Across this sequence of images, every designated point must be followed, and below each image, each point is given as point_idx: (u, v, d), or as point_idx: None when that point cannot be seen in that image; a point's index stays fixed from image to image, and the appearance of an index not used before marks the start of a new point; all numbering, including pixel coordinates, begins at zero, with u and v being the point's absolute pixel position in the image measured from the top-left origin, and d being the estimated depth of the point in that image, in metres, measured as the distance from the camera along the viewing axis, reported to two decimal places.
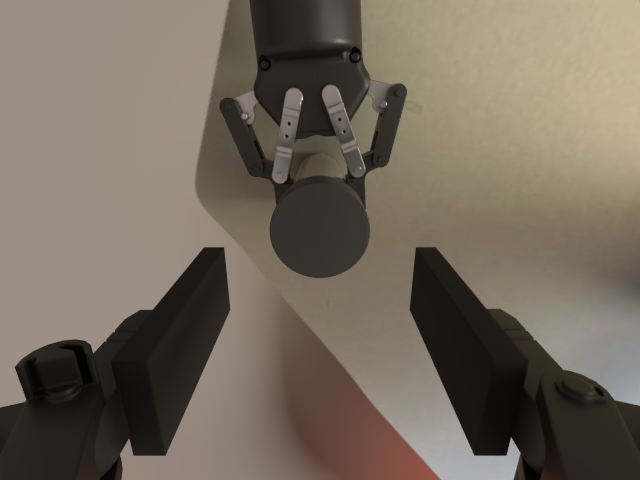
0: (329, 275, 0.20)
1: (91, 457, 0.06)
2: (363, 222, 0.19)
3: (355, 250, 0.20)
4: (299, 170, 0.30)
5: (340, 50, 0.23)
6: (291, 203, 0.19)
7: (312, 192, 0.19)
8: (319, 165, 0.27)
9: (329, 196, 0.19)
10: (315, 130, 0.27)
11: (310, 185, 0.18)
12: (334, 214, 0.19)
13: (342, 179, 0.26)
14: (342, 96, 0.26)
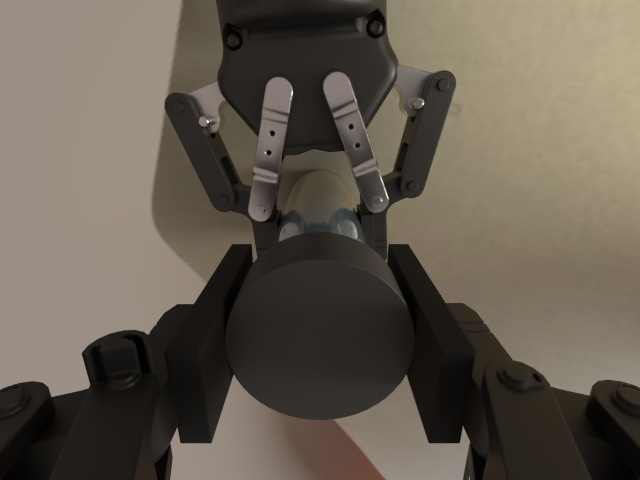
0: (337, 416, 0.11)
1: (148, 445, 0.06)
2: (403, 329, 0.10)
3: (386, 376, 0.10)
4: (290, 198, 0.21)
5: (354, 14, 0.14)
6: (264, 296, 0.10)
7: (305, 276, 0.09)
8: (319, 195, 0.18)
9: (338, 284, 0.09)
10: (313, 143, 0.17)
11: (301, 264, 0.09)
12: (348, 316, 0.10)
13: (355, 220, 0.17)
14: (355, 90, 0.17)
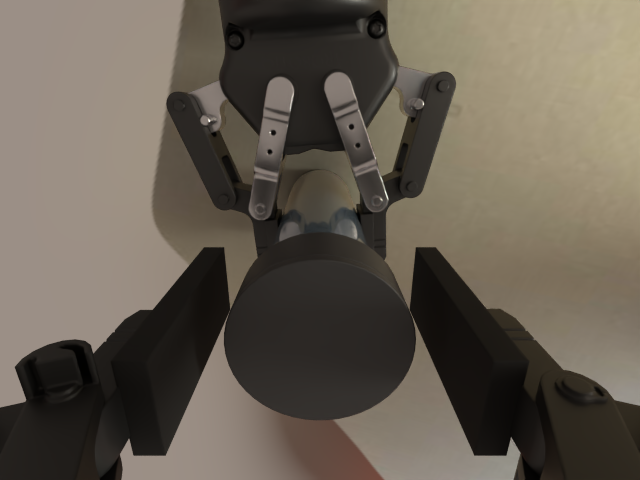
0: (410, 357, 0.10)
1: (91, 457, 0.06)
2: (328, 270, 0.09)
3: (380, 300, 0.10)
4: (290, 197, 0.21)
5: (355, 15, 0.14)
6: (250, 372, 0.10)
7: (239, 335, 0.10)
8: (319, 194, 0.18)
9: (256, 312, 0.10)
10: (313, 142, 0.17)
11: (226, 336, 0.10)
12: (293, 315, 0.10)
13: (354, 219, 0.17)
14: (355, 91, 0.17)
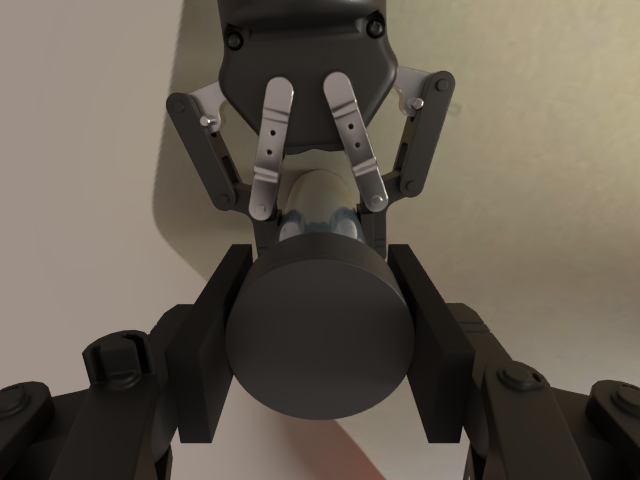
0: (410, 356, 0.10)
1: (148, 445, 0.06)
2: (327, 270, 0.09)
3: (379, 300, 0.10)
4: (290, 197, 0.21)
5: (354, 15, 0.14)
6: (250, 372, 0.10)
7: (239, 336, 0.10)
8: (319, 194, 0.18)
9: (256, 312, 0.10)
10: (313, 142, 0.17)
11: (226, 336, 0.10)
12: (293, 315, 0.10)
13: (354, 219, 0.17)
14: (355, 90, 0.17)
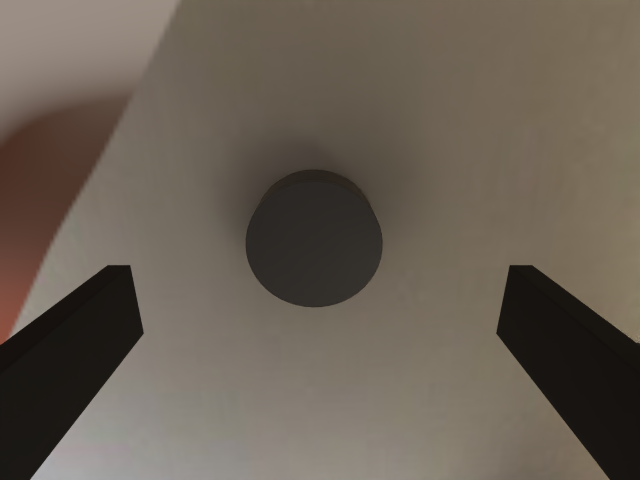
0: (379, 255, 0.14)
1: None
2: (319, 189, 0.13)
3: (356, 212, 0.14)
4: None
5: None
6: (264, 269, 0.14)
7: (256, 240, 0.14)
8: None
9: (268, 222, 0.14)
10: None
11: (247, 240, 0.14)
12: (295, 223, 0.14)
13: None
14: None
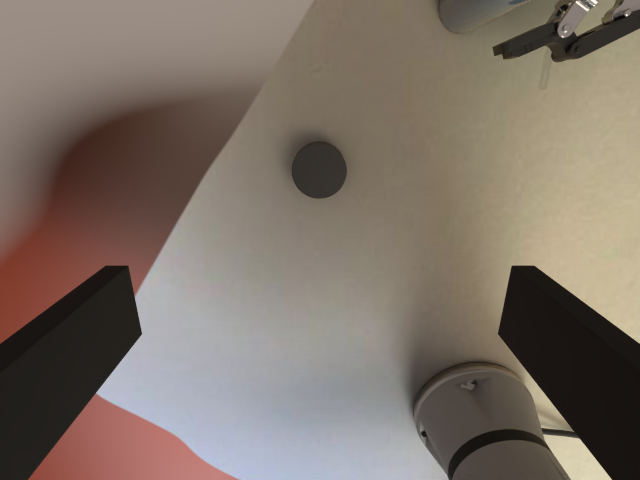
0: (345, 174, 0.36)
1: None
2: (321, 147, 0.35)
3: (335, 156, 0.35)
4: None
5: None
6: (299, 180, 0.36)
7: (296, 168, 0.35)
8: None
9: (301, 160, 0.35)
10: None
11: (292, 167, 0.35)
12: (311, 160, 0.35)
13: None
14: None
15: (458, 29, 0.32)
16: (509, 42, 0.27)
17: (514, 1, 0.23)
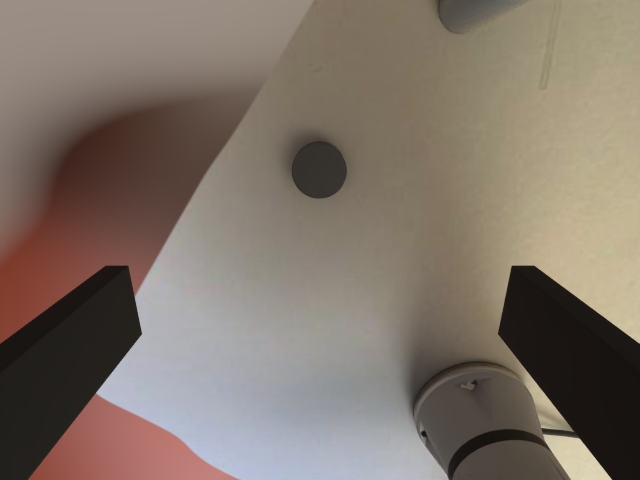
0: (345, 174, 0.36)
1: None
2: (321, 147, 0.35)
3: (335, 156, 0.35)
4: None
5: None
6: (299, 180, 0.36)
7: (296, 168, 0.35)
8: None
9: (301, 160, 0.35)
10: None
11: (292, 167, 0.35)
12: (311, 160, 0.35)
13: None
14: None
15: (458, 29, 0.32)
16: None
17: (514, 1, 0.23)
